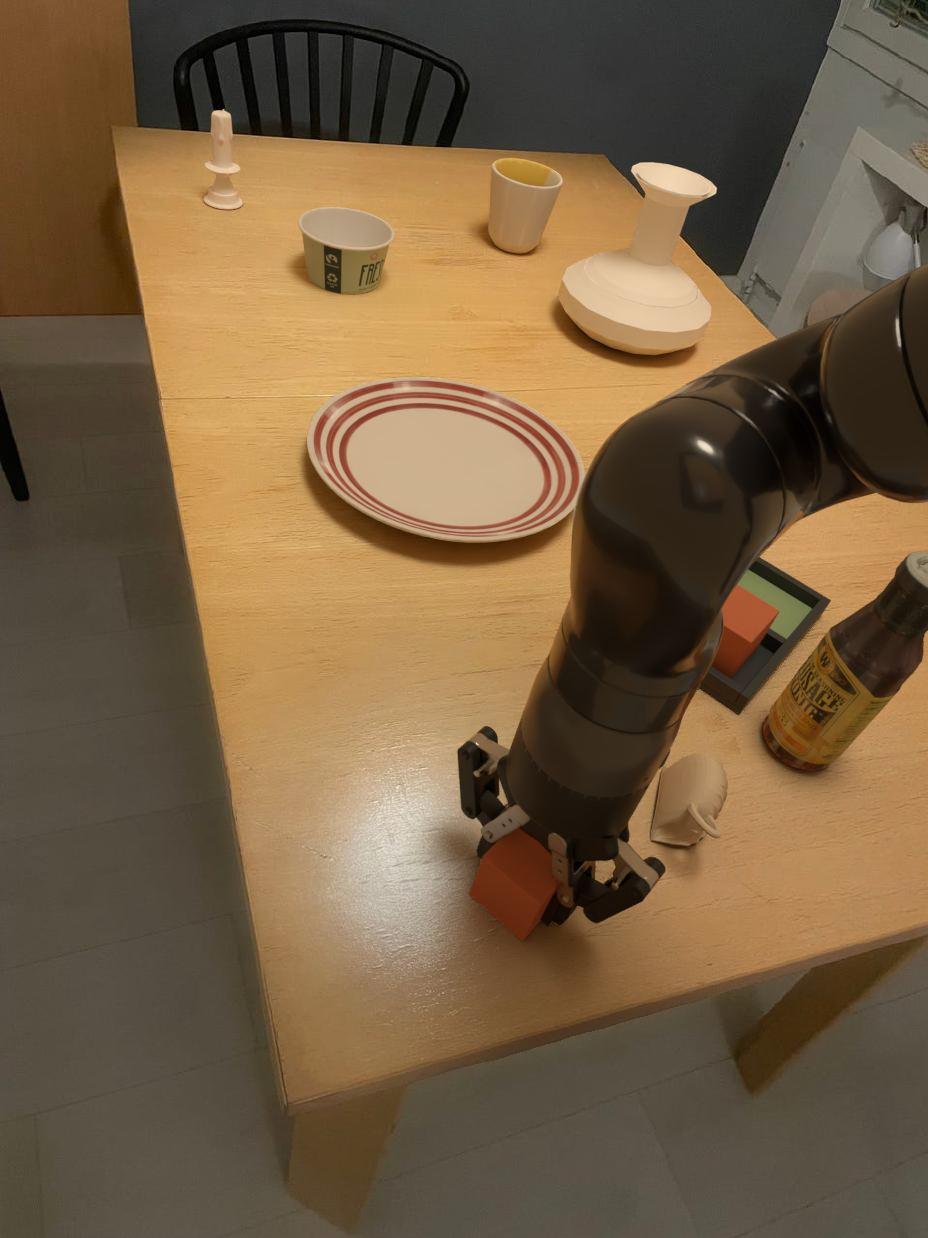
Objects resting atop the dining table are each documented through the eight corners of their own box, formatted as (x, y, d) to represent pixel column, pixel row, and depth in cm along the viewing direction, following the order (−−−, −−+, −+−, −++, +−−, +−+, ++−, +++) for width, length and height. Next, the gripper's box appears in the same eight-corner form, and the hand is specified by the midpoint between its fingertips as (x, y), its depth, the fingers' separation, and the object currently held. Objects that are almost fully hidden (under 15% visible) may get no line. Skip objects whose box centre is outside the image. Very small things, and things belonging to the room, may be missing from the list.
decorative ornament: (714, 785, 66) (742, 743, 62) (700, 878, 60) (729, 839, 57) (663, 765, 67) (687, 723, 63) (644, 856, 61) (669, 815, 57)
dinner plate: (310, 385, 95) (311, 357, 92) (554, 410, 100) (561, 384, 97) (299, 556, 76) (301, 527, 73) (601, 577, 81) (611, 550, 78)
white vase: (709, 381, 111) (773, 228, 97) (555, 354, 109) (598, 194, 95) (686, 308, 125) (739, 166, 111) (549, 283, 123) (586, 135, 109)
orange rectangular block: (755, 650, 77) (780, 610, 73) (727, 682, 73) (751, 642, 70) (712, 622, 78) (733, 581, 75) (682, 652, 75) (703, 611, 71)
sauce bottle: (747, 712, 72) (867, 528, 58) (816, 713, 73) (949, 534, 59) (775, 780, 68) (912, 598, 54) (848, 780, 69) (1000, 603, 55)
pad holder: (821, 615, 82) (831, 600, 81) (738, 715, 72) (749, 699, 70) (737, 564, 86) (746, 548, 84) (647, 652, 75) (654, 635, 73)
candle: (249, 200, 125) (248, 108, 116) (233, 213, 121) (232, 118, 113) (213, 190, 125) (210, 97, 117) (196, 203, 121) (192, 108, 113)
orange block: (571, 885, 58) (592, 847, 55) (522, 942, 55) (540, 905, 51) (519, 841, 60) (536, 801, 56) (468, 894, 57) (482, 856, 53)
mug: (550, 265, 127) (568, 190, 120) (481, 255, 125) (495, 179, 118) (539, 226, 137) (555, 155, 129) (474, 216, 135) (487, 144, 128)
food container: (317, 247, 118) (320, 197, 113) (401, 272, 117) (407, 223, 113) (280, 281, 110) (282, 229, 105) (370, 308, 109) (376, 257, 104)
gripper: (443, 688, 46) (403, 853, 58) (673, 869, 40) (576, 1008, 52) (528, 621, 50) (475, 786, 62) (745, 775, 45) (641, 923, 57)
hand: (522, 887), depth 57 cm, fingers closed on orange block, 4 cm apart
